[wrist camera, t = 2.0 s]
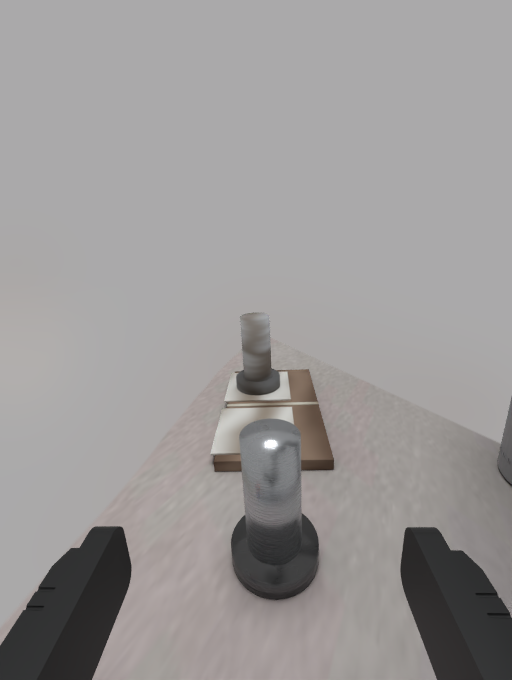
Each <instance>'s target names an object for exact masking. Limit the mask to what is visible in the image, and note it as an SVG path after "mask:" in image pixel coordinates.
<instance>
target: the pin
mask: <svg viewBox="0 0 512 680" xmlns="http://www.w3.org/2000/svg"><path fill="white" fill-rule="evenodd" d="M239 442H240V455H241V467H242V480H243V492H244V505H245V516H243V517H242V518H241V520H240V521H239V522H238V524H237V525H236V527H235V529H234V531H233V534H232V539H231V548H232V558H233V566H234V570H235V573H236V575H237V577H238V579H239V580H240V582H241V583H242V584H243V585H244V586H245V587H246V588H247V589H248V590H249V591H250V592H252V593H254V594H255V595H257V596H260V597H263V598H266V599H274V600H279V599H286V598H290V597H293V596H295V595H297V594H299V593H300V592H302V591H303V590H304V589H305V588H306V587H307V586H308V585H309V584H310V583H311V582H312V580H313V578H314V576H315V574H316V571H317V567H318V550H319V543H318V536H317V533H316V530H315V528H314V526H313V524H312V523H311V522H310V520H309V519H308V518H307V517H306V516H304V515H303V514H302V511H301V434H300V431H299V429H298V428H297V427H296V426H295V425H293V424H292V423H290V422H288V421H285V420H281V419H272V418H269V419H261V420H257V421H254V422H252V423H250V424H248V425H246V426H245V427H244V428H243V429H242V431H241V432H240V435H239Z"/></svg>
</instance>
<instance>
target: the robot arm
mask: <svg viewBox="0 0 512 680" xmlns="http://www.w3.org/2000/svg"><path fill="white" fill-rule="evenodd" d="M498 467H499V469H500V471H501V473H502V475H503V476H504V477H505V478H506V480H507V481H508V482H509V483H511V484H512V398H511V402H510V407H509V411H508V416H507V420H506V425H505V429H504V433H503V438H502V442H501V447H500V451H499V456H498ZM130 578H131V561H130V557H129V552H128V547H127V543H126V538H125V534H124V530H123V528H122V527H94V528H92V529H91V530H90V532H89V533H88V535H87V536H86V538H85V540H84V541H83V543H82V545H81V546H80V548H71V549H70V550H69V551H68V552H67V553H66V554H65V555H63V556H62V557H61V558H60V559H59V560H58V561H57V562H56V563H55V564H54V565H53V566H52V567H51V569H50V570H49V572H48V574H47V575H46V577H45V578H44V580H43V581H42V583H41V584H40V586H39V589H38V591H37V592H35V593H34V595H33V596H32V598H31V600H30V601H29V603H28V604H27V607H26V610H23V612H22V613H21V615H20V616H19V618H18V619H17V621H16V623H15V624H14V626H13V627H12V629H11V630H10V632H9V633H8V635H7V636H6V638H5V639H4V641H3V642H2V644H1V645H0V680H92V678H93V676H94V673H95V671H96V668H97V666H98V663H99V661H100V658H101V656H102V653H103V650H104V648H105V645H106V643H107V640H108V638H109V635H110V633H111V630H112V628H113V625H114V623H115V620H116V618H117V615H118V613H119V610H120V608H121V605H122V603H123V600H124V598H125V595H126V593H127V590H128V587H129V583H130ZM401 579H402V585H403V589H404V592H405V595H406V598H407V601H408V603H409V606H410V609H411V611H412V614H413V617H414V619H415V622H416V624H417V627H418V630H419V632H420V635H421V638H422V640H423V643H424V646H425V648H426V651H427V654H428V656H429V659H430V662H431V664H432V667H433V670H434V672H435V675H436V678H437V680H512V618H511V616H510V613H509V611H508V609H507V608H506V606H505V605H504V603H503V601H502V600H501V598H499V597H498V595H497V592H496V590H495V589H494V587H493V586H492V584H491V582H490V581H489V579H488V578H487V576H486V575H485V573H484V571H483V570H482V569H481V568H480V567H479V566H478V565H477V564H476V563H475V562H474V561H473V560H472V559H471V558H469V557H468V556H467V555H466V554H465V553H464V552H463V551H451V550H450V548H449V546H448V545H447V543H446V541H445V539H444V538H443V536H442V534H441V533H440V531H439V530H438V529H437V528H434V527H408V528H406V530H405V535H404V543H403V551H402V559H401Z"/></svg>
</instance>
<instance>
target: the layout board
mask: <svg viewBox="0 0 512 680" xmlns="http://www.w3.org/2000/svg"><path fill="white" fill-rule="evenodd" d="M240 322H241V336H242V351H243V365H244V370H243V371H241V372H235V373H231V377H230V381H229V385H228V389H227V392H226V396H225V400H224V402H228V404H227V408H226V409H222V411H221V415H220V419H219V423H218V427H217V431H216V434H215V438H214V442H213V446H212V450H211V453H210V454H211V455H215V459H214V467H215V471H242V467H241V455H240V442H239V435H240V432H241V431H242V429H243V428H244V427H245V426H246V425H248V424H250V423H252V422H254V421H257V420H261V419H269V418H272V419H281V420H285V421H288V422H290V423H292V424H293V425H295V426H296V427H297V428H298V429H299V431H300V434H301V470H332V469H334V458H333V455H332V451H331V448H330V444H329V441H328V437H327V433H326V430H325V426H324V423H323V419H322V415H321V412H320V408H319V405H318V401H317V398H316V394H315V390H314V387H313V383H312V380H311V376H310V372H309V369H306V370H274V369H272V368H271V348H270V323H269V315H268V314H266V313H248V314H244V315H242V316H240Z"/></svg>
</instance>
